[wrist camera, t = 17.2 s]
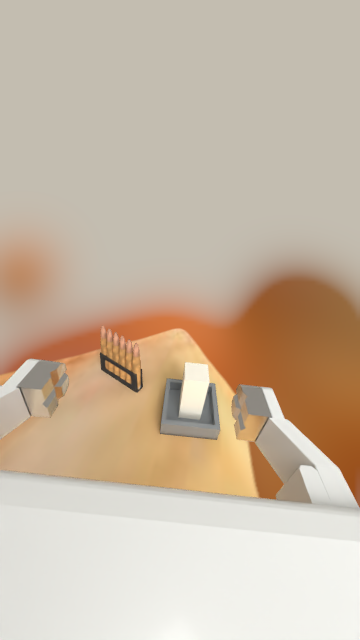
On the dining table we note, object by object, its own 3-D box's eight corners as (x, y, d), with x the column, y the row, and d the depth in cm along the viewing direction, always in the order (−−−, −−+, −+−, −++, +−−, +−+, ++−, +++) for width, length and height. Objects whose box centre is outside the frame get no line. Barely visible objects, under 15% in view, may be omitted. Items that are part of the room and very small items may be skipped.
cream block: (178, 417, 40) (184, 379, 35) (179, 399, 43) (185, 362, 38) (200, 419, 40) (209, 382, 35) (199, 401, 44) (207, 364, 38)
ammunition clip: (142, 387, 46) (143, 342, 40) (136, 392, 45) (136, 347, 38) (107, 364, 51) (103, 321, 44) (101, 369, 49) (95, 325, 43)
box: (160, 433, 38) (161, 423, 36) (166, 388, 46) (167, 378, 45) (216, 439, 38) (220, 429, 37) (212, 393, 47) (215, 383, 45)
